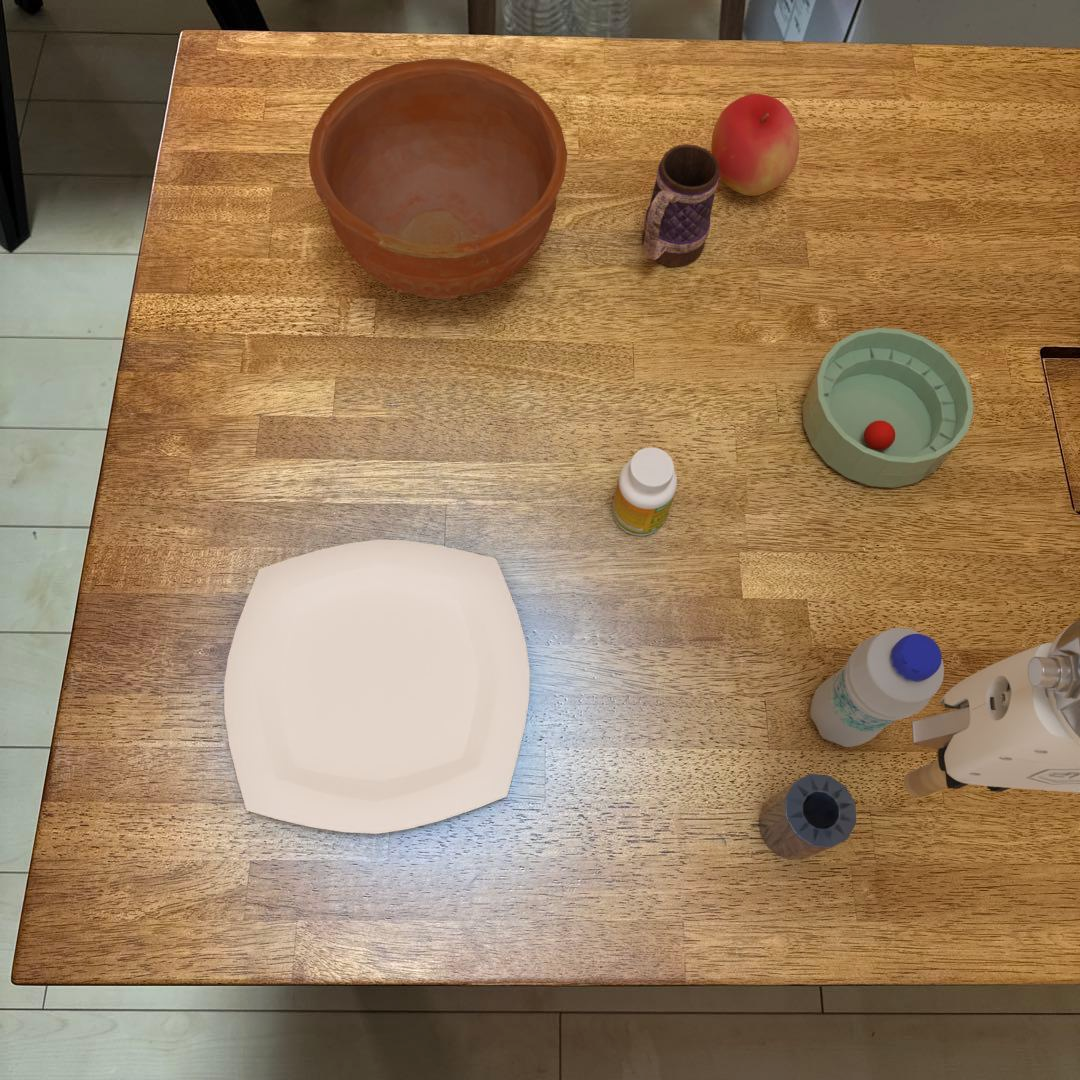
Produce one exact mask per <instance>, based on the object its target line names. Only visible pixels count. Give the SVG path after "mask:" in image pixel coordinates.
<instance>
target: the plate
mask: <svg viewBox="0 0 1080 1080" xmlns="http://www.w3.org/2000/svg"><path fill="white" fill-rule="evenodd" d="M257 571H258V572H257V574H256V576H255V578H254V581H253V583H252V586H251V588H250V591H249V592H248V595H247V597H246V601H245V604H244V605H243V609H242V612H241V614H240V617H239V619H238V622H237V624H236V627H235V631H234V634H233V638H232V641H231V644H230V648H229V652H228V656H227V661H226V667H225V674H224V683H223V707H224V708H223V714H224V719H225V720H224V721H225V727H226V735H227V742H228V746H229V750H230V754H231V758H232V762H233V767H234V771H235V775H236V779H237V782H238V786H239V789H240V793H241V797H242V799H243V800H242V801H243V804H244V806H245V810H246V811H247V812H249V813H250V812H251V813H253V814H256V815H260V816H263V817H268V818H271V819H274V820H279V821H283V822H287V823H291V824H294V825H295V824H296V825H300V826H305V827H309V828H314V829H320V830H325V831H326V830H328V831H333V832H341V833H350V834H351V833H352V834H373V835H374V834H376V835H378V834H385V833H391V832H399V831H404V830H411V829H414V828H418V827H422V826H426V825H429V824H430V825H431V824H434V823H437V822H440V821H444V820H447V819H450V818H453V817H456V816H459V815H462V814H464V813H467V812H470V811H473V810H476V809H479V808H481V807H485V806H486V805H490V804H492V803H494V802H496V801H499V800H501V799H504V798H507V797H508V794H509V791H510V787H511V783H512V779H513V776H514V773H515V769H516V765H517V762H518V759H519V753H520V749H521V745H522V741H523V737H524V733H525V730H526V729H525V728H526V724H527V723H526V722H527V715H528V708H529V703H530V683H531V682H530V680H531V679H530V678H531V669H530V661H529V654H528V647H527V642H526V638H525V634H524V631H523V626H522V623H521V619H520V616H519V613H518V610H517V607H516V605H515V602H514V600H513V597H512V594H511V592H510V589H509V586H508V583H507V581H506V579H505V577H504V574H503V572H502V569H501V567H500V564H499V561H498V560H497V558H494V557H491V556H486V555H483V554H480V553H477V552H476V553H475V552H471V551H468V550H463V549H459V548H453V547H449V546H444V545H439V544H433V543H426V542H421V541H413V540H404V539H403V540H402V539H401V540H400V539H383V538H377V539H370V540H362V541H355V542H347V543H344V544H338V545H334V546H330V547H326V548H322V549H318V550H314V551H311V552H308V553H304V554H301V555H296V556H294V557H291V558H286V559H284V560H280V561H278V562H275V563H273V564H270V565H267V566H264V567H261V568H259V569H258V570H257Z"/></svg>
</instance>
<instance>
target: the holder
mask: <svg viewBox="0 0 1080 1080" xmlns="http://www.w3.org/2000/svg"><path fill="white" fill-rule="evenodd" d="M759 815H760V816H759V821H758V823H759V824H758V825H759V832H760V835H761V838H762V839H763V841H764V843H765V844H766V846H767V847H768V848H769V850H771V851H772V852H773V853H774V854H776V855H777V856H779V857H781V858H784V859H786V860H792V861H793V860H796V861H797V860H805V859H808V858H810V857H813V856H815V855H818V854H820V853H823V852H825V851H827V850H830V849H832V848H835V847H836V846H839V845H840V844H842V843H843V842H846V841H847V840H848V839H850V836H851V834H852V833H853V830H854V828H855V827H856V826H857V822H858V820H857V805H856V802H855V799H854V798H853V796H852V794H851V793H850V791H849V790H848V788H847V787H846V785H844V784H843V783H841V782H840V781H839V780H837V779H835V778H834V777H832V776H830V775H828V774H817V773H809V774H806V775H805V776H802V777H801V778H799V779H797V780H795V781H793V782H791V784H789V785H787V786H786V787H784V788H783V789H782V790H780V791H778V793H776V794H775V795H772V796H771V797H770V798H769V799H768V800H767V802H766V803H765V804H764V805H763V807H762V810H761V812H760V814H759Z"/></svg>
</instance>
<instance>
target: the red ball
mask: <svg viewBox="0 0 1080 1080" xmlns="http://www.w3.org/2000/svg"><path fill="white" fill-rule="evenodd" d="M864 440H865V443H866V444H867V445H868V447H870V448H871V449H873V450H885V449H887V448H889V447H890V446H891V445H892V444H893V442H894V440H895V430H894V428H893V426H892V425H891V424H890V423H888V422H886V421H882V420H878V421H874V422H872V423H870V424H869V425H868V426H867V427H866V429H865V432H864Z"/></svg>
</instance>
